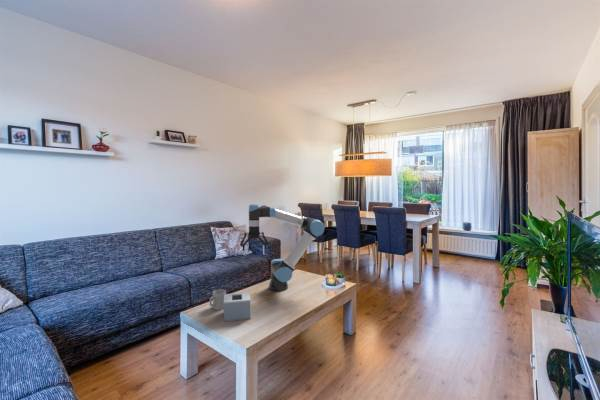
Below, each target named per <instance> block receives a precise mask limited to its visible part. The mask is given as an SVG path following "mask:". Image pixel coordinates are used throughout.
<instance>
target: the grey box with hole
mask: <svg viewBox="0 0 600 400" xmlns="http://www.w3.org/2000/svg"><path fill="white" fill-rule="evenodd" d="M251 311H252V309H251V294H250V292H249V291H248V292H235V293H226V294H224V309H223V322H232V321H242V320H244V321H245V320H251V319H252V317H251Z"/></svg>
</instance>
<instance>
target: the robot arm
mask: <svg viewBox="0 0 600 400" xmlns="http://www.w3.org/2000/svg"><path fill="white" fill-rule="evenodd" d="M260 218H271V219H275V220H277V221H281V222H284V223H287V224H290V225H294V226H298V228H300V229H303V230H302V231H303V234H302V236H301V237H300V238H299V240H298V241H297V243H296V244H295V245H294V246H293V248H292V249H291V251H290V252H289V254H288V255H287V256H286V258H285V259H284V258H274V259H272V260H271V261H270V272H271V273H270V274H271V275H270V281H269V284H268V289H269V290H270V291H273V292H274V291H275V292H282V291H286V290H287V289H289V284H288V282H289V281H290V280H291V279H292V277H293V272H294V271H295V269H296V267H295V266H296V265H297V264H298V262H299V260H300V259H301V257H302V256H303V255H304V253H305V252H306V250H307V249H308V248H309V246H310V245H311V243H312V242H313V241H314V240H315V241H316V240H317V238H318V237H320V236H322V235H323V234H324V232H325V224H324V223H323V222H322V221H321V220H319V219H316V218H313V217H307V216H304V215H302V216H300V215H296V214H293V213H289V212H286V211H284V210H280V209H276V207H275V206H267V205H265V204H264V205H263V204H262V205H259V204H258V203H257V204H249V206H248V232H244V236H243V238H242V239H241V241H240V244H239V246H240V247H242V251H244V253H243V256H244V257H245V256H246V245H247V244H248V242H249V241H250V240H251V239H255V240H256V239H258V240H259V241H260V242H261V243H262V244H263V245H262V254H263V255H265V250H267V245H269V242H268V240H267V238H266V236H265V233H264V231H261V232H260ZM260 235H261V236H262V238H263V239H262V238H261V236H260ZM247 236H249V237H247Z"/></svg>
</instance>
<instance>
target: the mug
mask: <svg viewBox="0 0 600 400" xmlns="http://www.w3.org/2000/svg"><path fill="white" fill-rule="evenodd" d="M226 292H227V291H226V289H223V288H221V289H216V290H213V292H212V296H211V297H210V298H209V306H210V307H211V308H213V310H215V311H221V310H224V294H227V293H226Z"/></svg>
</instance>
